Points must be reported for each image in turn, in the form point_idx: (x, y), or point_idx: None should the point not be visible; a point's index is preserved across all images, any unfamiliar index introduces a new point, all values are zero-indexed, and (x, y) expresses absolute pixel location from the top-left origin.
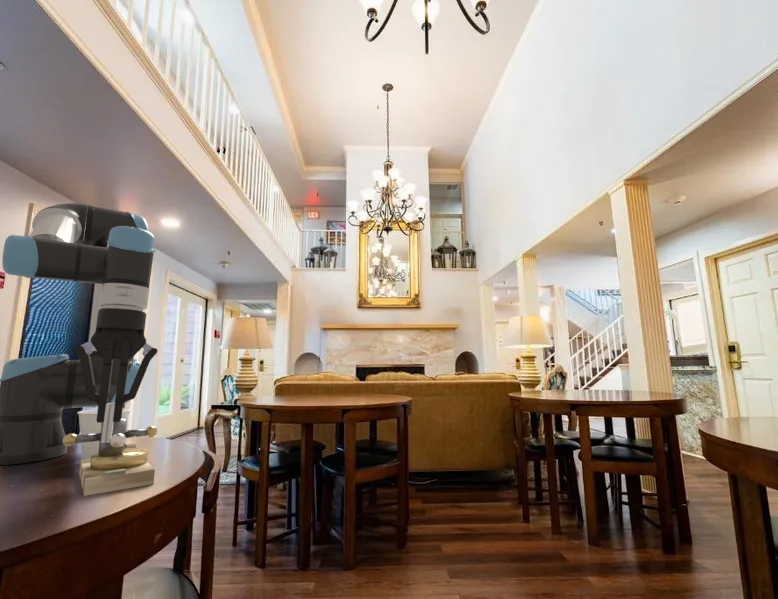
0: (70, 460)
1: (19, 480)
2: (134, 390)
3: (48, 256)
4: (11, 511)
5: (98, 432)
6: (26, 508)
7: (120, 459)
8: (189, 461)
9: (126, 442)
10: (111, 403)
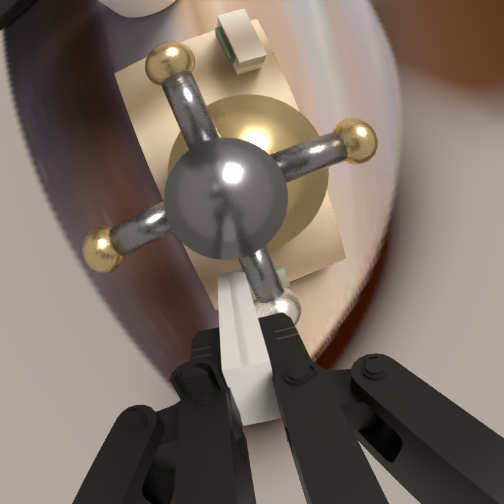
0: None
1: (37, 131)
2: (390, 441)
3: None
4: (136, 339)
5: None
6: (150, 332)
7: (269, 248)
8: (375, 58)
9: (224, 17)
10: (253, 391)
